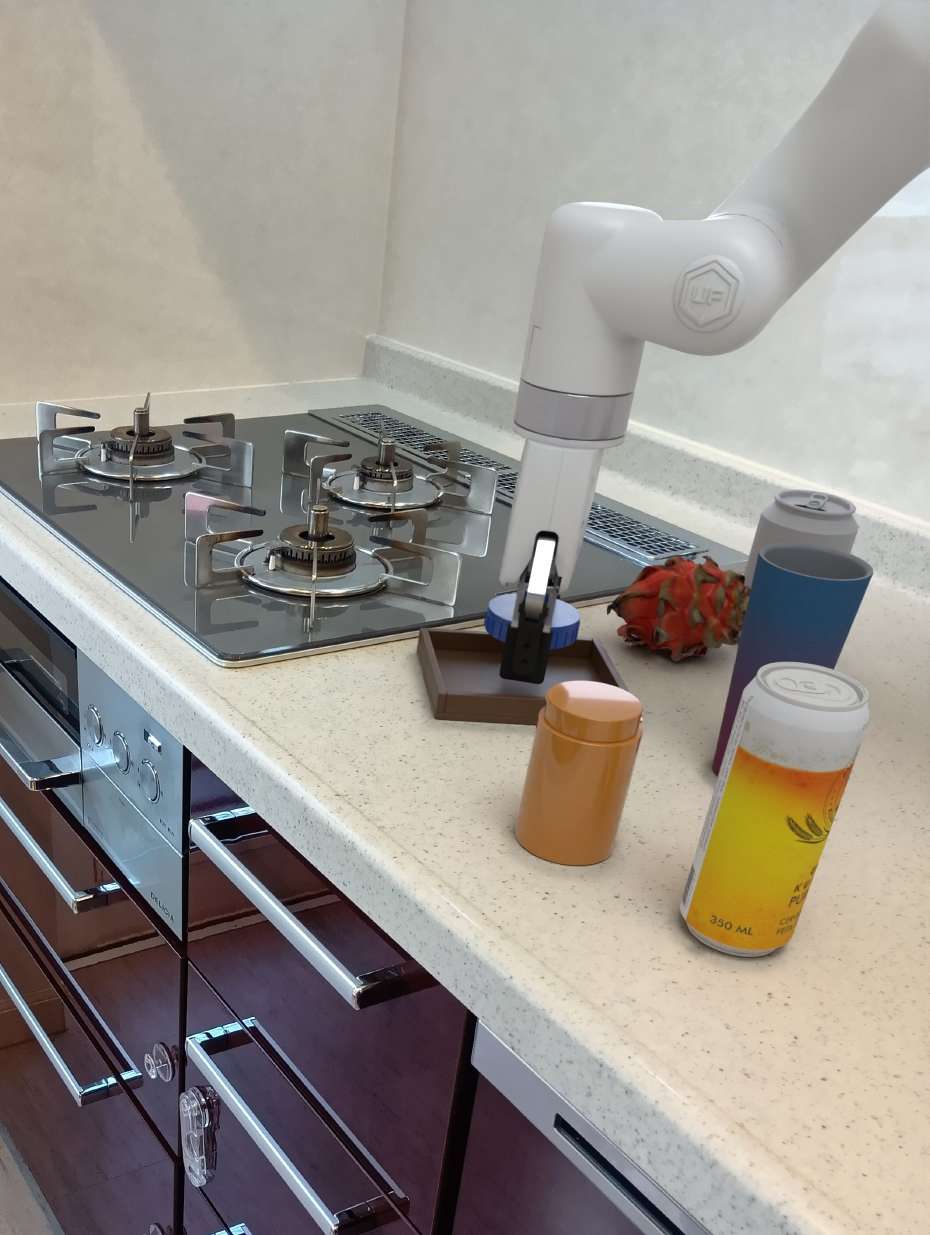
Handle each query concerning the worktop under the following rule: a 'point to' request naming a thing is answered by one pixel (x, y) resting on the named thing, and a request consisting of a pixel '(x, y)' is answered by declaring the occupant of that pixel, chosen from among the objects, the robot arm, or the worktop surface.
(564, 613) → the lid
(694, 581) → the dragon fruit
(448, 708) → the tray
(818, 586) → the cup
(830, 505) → the can
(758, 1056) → the worktop surface
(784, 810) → the beer can
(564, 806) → the jar
